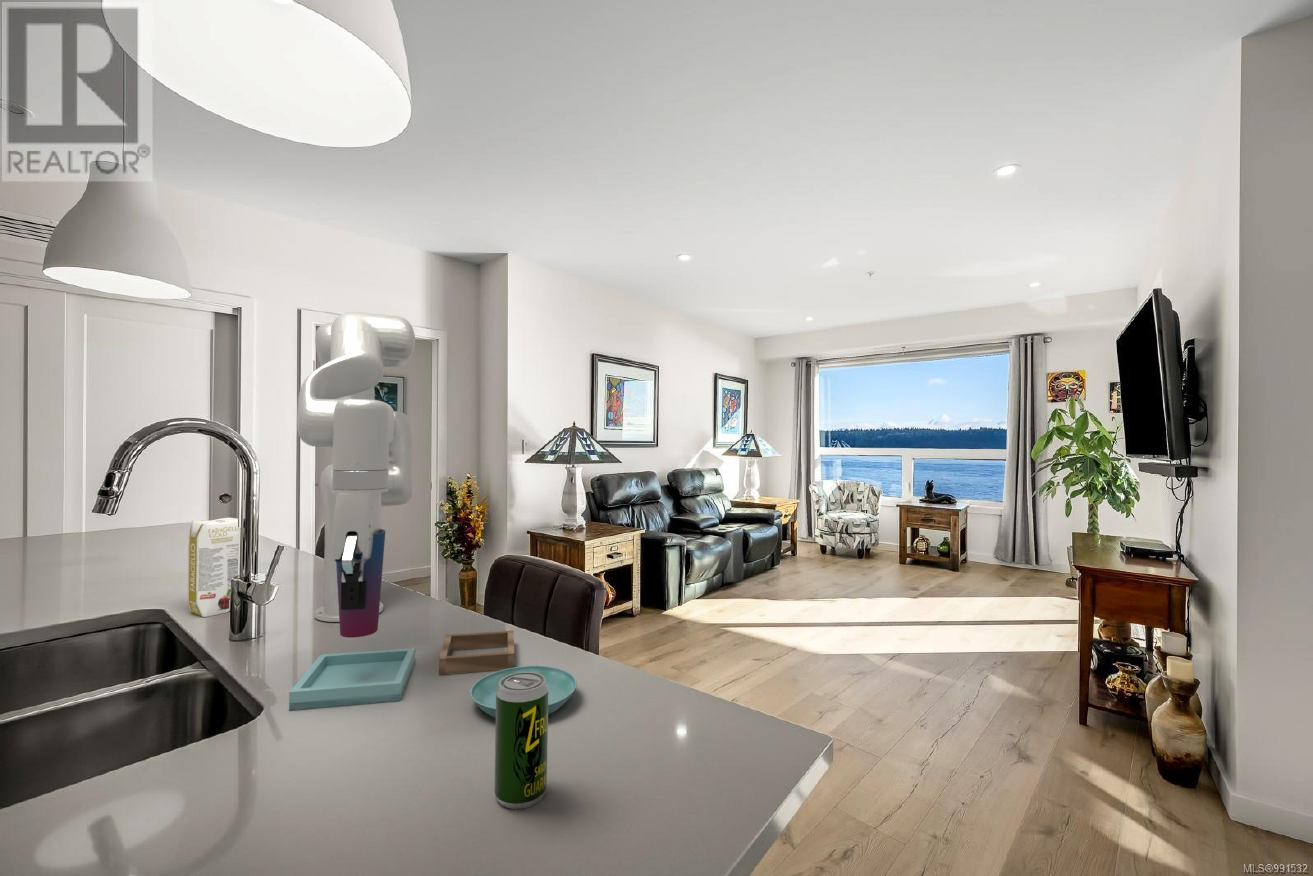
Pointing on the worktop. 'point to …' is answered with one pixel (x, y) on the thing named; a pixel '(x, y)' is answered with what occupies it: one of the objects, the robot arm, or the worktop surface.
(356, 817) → the worktop surface
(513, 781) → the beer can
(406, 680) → the tray
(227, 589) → the juice carton
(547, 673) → the saucer
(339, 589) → the cup
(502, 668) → the holder
